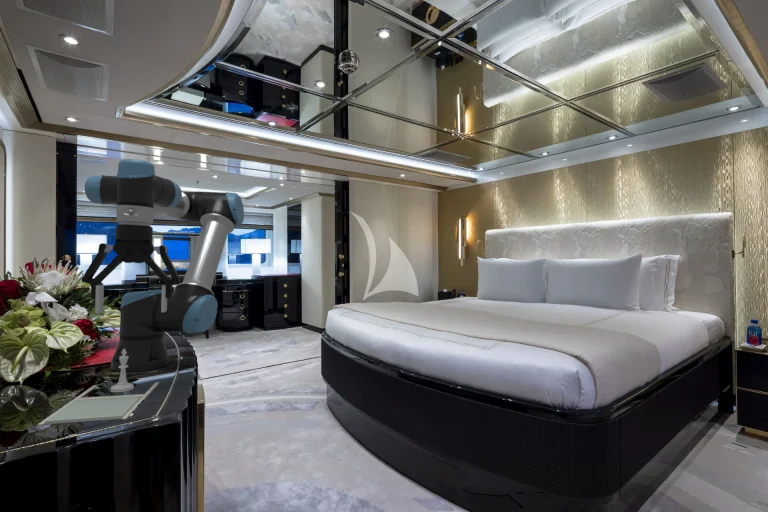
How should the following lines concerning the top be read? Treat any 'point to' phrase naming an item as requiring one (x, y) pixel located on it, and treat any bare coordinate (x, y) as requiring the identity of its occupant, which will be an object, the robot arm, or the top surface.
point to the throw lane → (97, 408)
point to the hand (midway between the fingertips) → (132, 312)
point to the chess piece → (122, 376)
